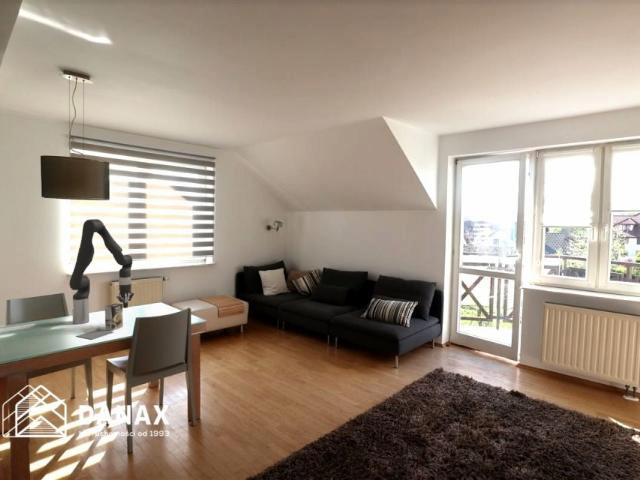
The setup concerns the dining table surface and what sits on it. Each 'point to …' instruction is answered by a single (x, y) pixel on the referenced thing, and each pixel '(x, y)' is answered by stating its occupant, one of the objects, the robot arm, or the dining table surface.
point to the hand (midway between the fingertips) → (125, 307)
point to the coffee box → (113, 316)
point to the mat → (95, 334)
